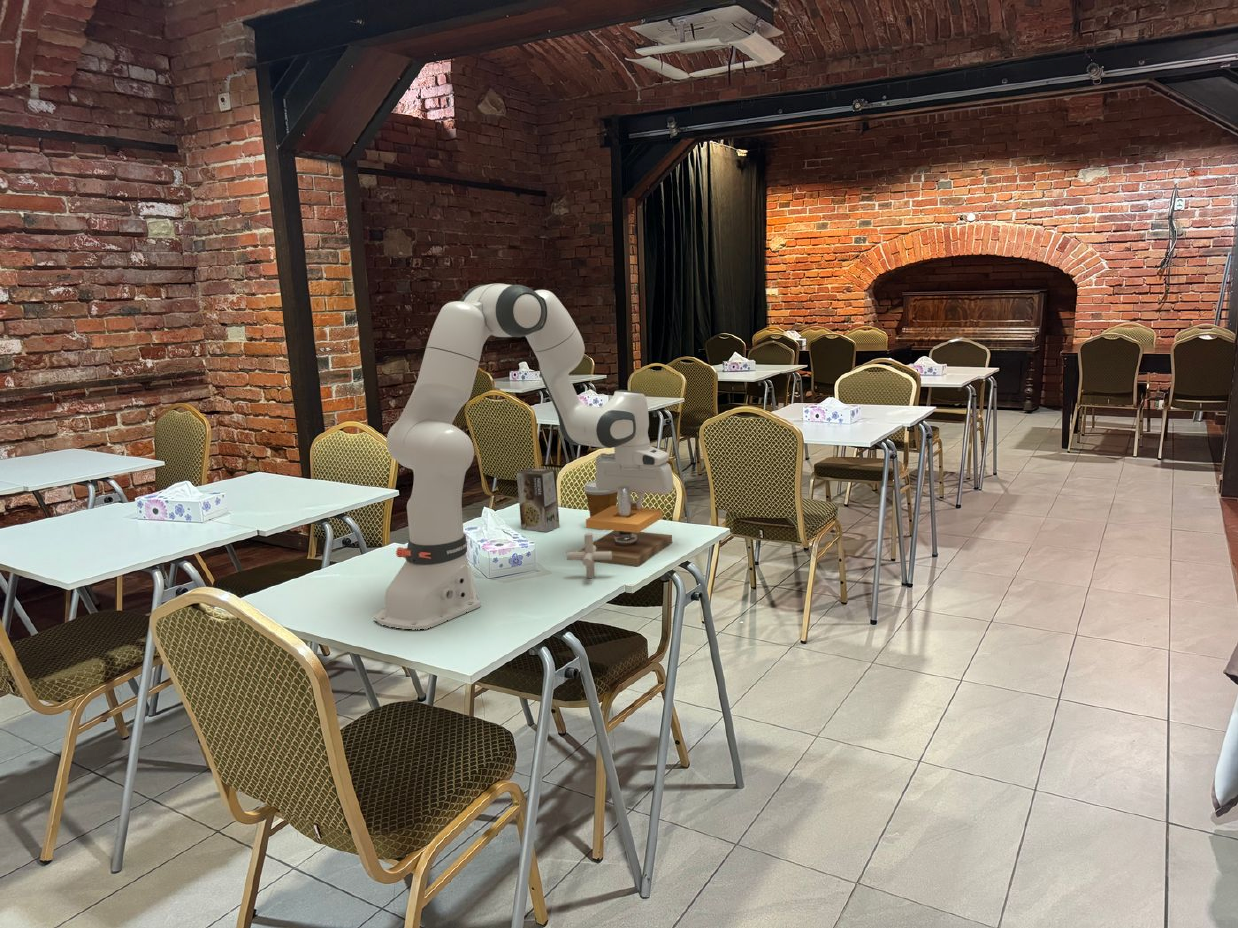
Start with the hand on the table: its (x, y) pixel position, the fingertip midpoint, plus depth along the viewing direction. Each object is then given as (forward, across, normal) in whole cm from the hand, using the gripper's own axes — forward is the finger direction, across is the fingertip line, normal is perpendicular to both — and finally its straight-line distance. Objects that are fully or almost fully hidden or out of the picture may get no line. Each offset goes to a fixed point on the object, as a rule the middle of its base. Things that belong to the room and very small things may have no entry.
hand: (634, 508), depth 213 cm
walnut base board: (+9, 0, -6) cm, 11 cm away
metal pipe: (+7, 0, -6) cm, 9 cm away
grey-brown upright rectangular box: (+10, -32, +5) cm, 34 cm away
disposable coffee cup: (+10, -16, +12) cm, 22 cm away
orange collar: (+2, 0, -6) cm, 6 cm away
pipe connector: (+9, +1, -26) cm, 27 cm away
